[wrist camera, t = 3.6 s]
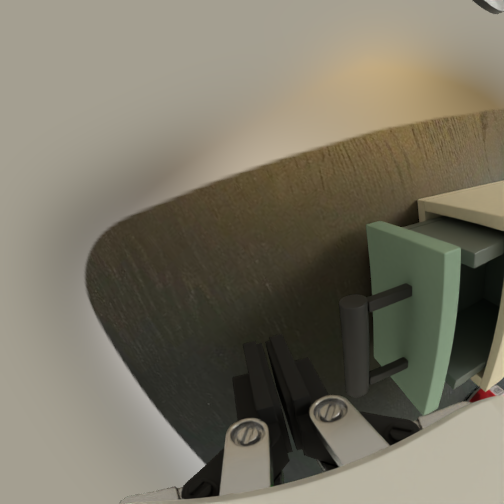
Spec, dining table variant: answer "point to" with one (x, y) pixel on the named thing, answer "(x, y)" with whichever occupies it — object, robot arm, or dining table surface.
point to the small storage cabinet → (487, 214)
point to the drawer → (425, 307)
